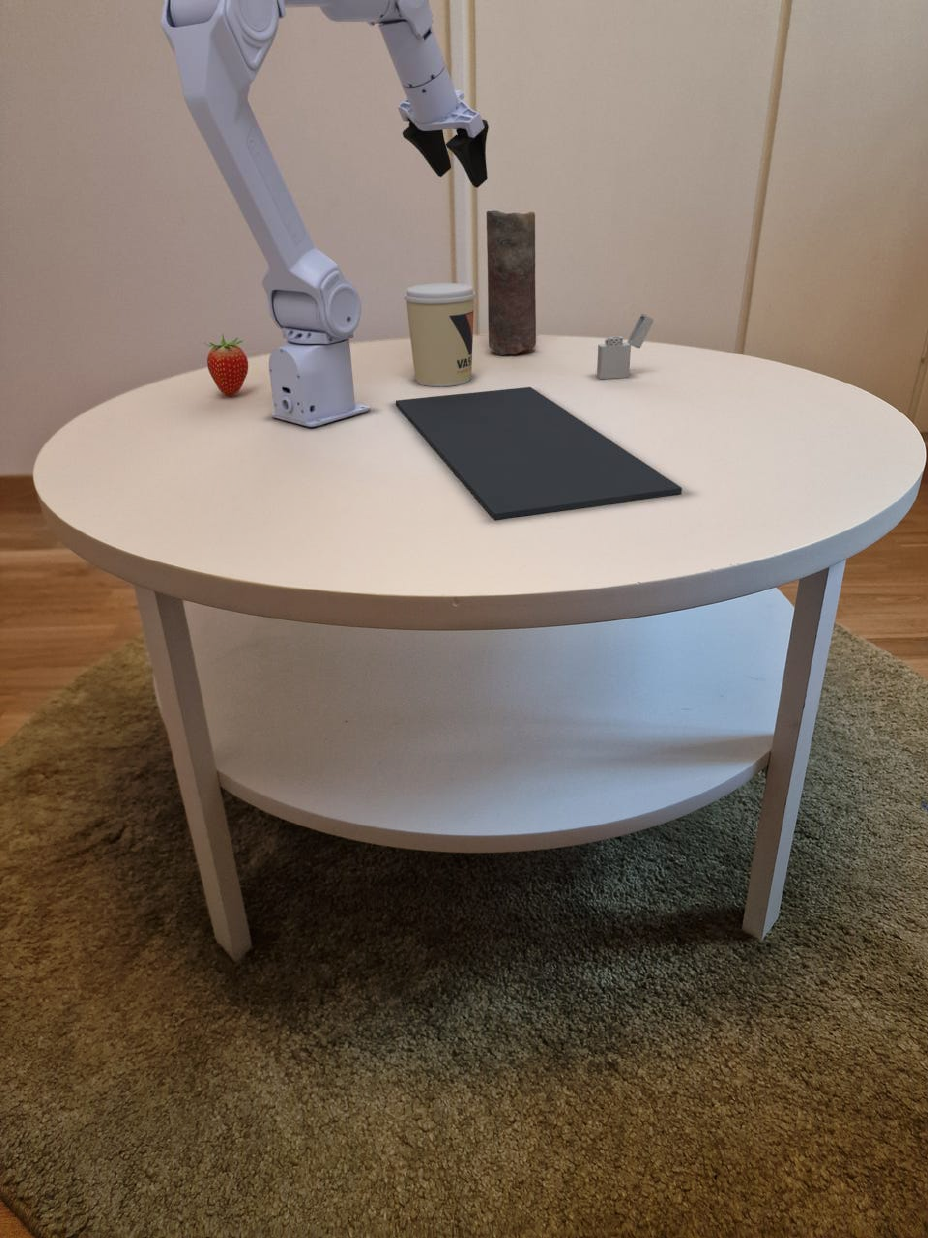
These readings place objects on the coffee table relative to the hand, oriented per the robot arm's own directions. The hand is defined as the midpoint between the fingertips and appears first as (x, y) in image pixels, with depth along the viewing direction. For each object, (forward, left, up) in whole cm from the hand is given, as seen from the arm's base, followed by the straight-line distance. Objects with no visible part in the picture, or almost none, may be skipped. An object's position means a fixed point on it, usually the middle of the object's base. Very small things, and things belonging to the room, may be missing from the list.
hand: (462, 177), depth 113 cm
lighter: (+8, -22, -25) cm, 34 cm away
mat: (-24, -29, -25) cm, 45 cm away
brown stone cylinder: (+12, +1, -25) cm, 28 cm away
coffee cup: (-8, -3, -25) cm, 26 cm away
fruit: (-31, +14, -25) cm, 42 cm away
